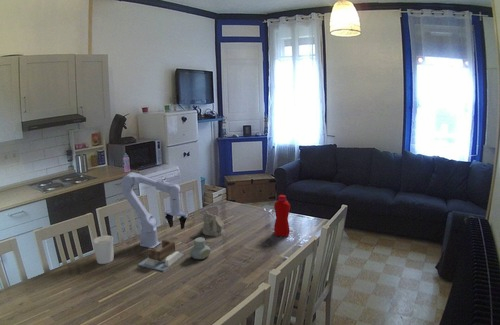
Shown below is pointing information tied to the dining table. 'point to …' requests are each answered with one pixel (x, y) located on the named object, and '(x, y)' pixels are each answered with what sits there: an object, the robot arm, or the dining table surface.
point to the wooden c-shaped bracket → (162, 251)
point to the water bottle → (282, 216)
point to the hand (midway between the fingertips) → (176, 227)
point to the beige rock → (213, 225)
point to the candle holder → (104, 249)
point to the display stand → (161, 262)
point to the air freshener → (199, 249)
